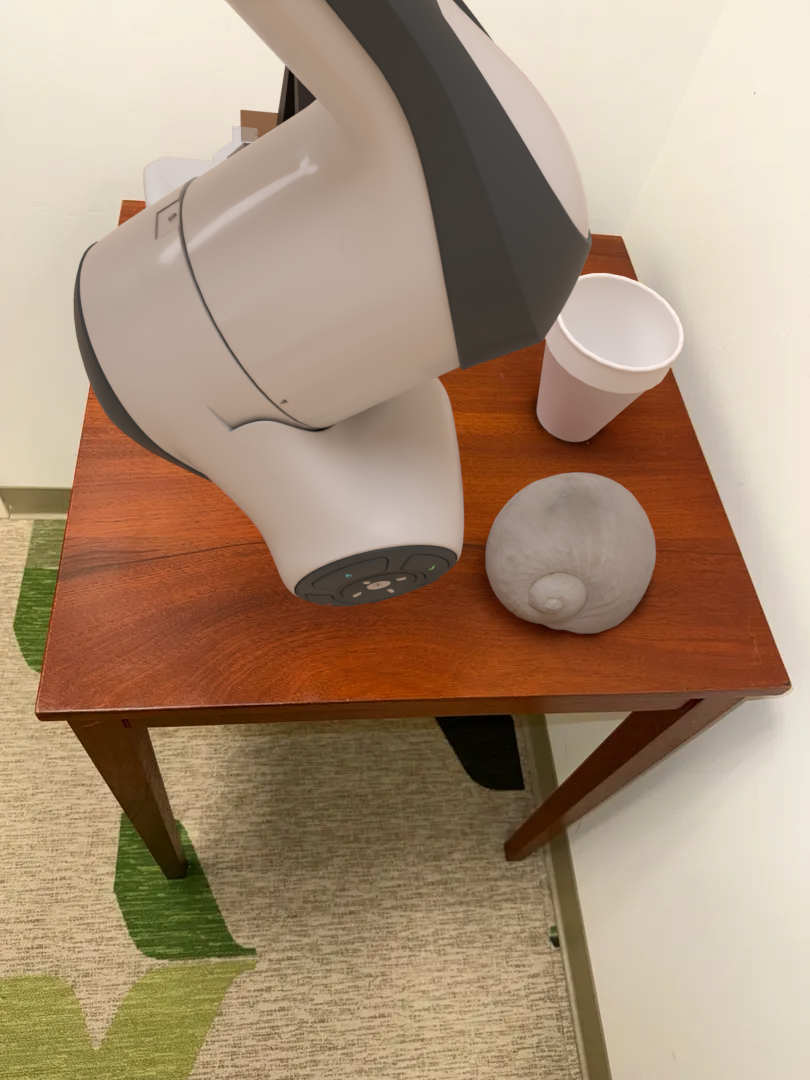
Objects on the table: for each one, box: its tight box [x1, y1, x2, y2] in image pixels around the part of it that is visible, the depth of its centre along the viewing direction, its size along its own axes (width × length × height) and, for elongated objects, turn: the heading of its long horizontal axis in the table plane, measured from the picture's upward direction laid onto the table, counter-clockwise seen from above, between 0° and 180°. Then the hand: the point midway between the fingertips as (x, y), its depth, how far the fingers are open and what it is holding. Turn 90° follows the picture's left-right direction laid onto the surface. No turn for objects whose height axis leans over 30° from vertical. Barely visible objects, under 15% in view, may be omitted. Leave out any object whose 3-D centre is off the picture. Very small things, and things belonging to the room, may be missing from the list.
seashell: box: [485, 471, 657, 634], centre depth 68 cm, size 15×14×15 cm
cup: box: [536, 272, 685, 443], centre depth 75 cm, size 12×12×14 cm
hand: (324, 144), depth 46 cm, fingers open, 8 cm apart
